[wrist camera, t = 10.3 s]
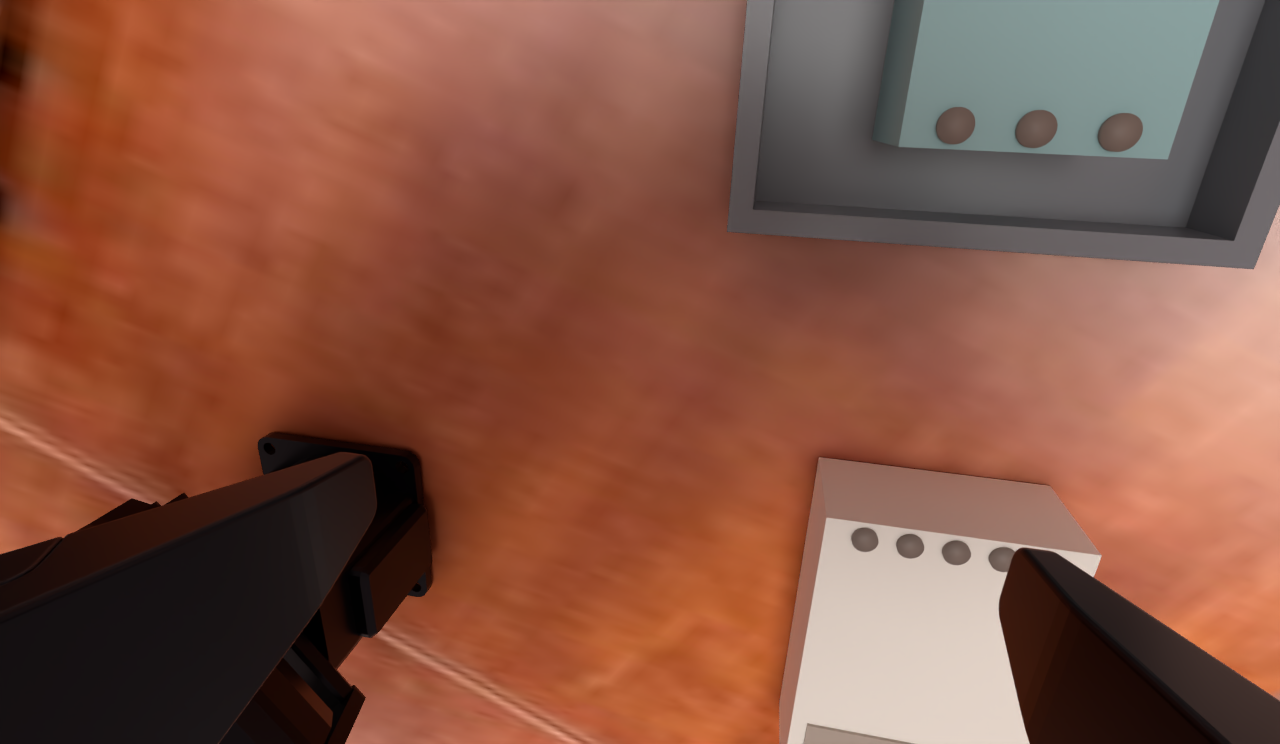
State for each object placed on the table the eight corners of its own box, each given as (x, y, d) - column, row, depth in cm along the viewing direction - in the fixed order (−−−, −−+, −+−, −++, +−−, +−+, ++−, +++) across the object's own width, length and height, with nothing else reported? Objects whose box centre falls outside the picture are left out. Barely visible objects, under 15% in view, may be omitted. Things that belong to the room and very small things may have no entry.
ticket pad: (779, 703, 25) (779, 791, 22) (818, 457, 21) (827, 520, 18) (969, 738, 24) (1000, 837, 21) (1050, 485, 20) (1104, 559, 17)
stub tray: (732, 217, 19) (727, 231, 17) (767, -161, 16) (765, -208, 13) (1189, 248, 17) (1253, 269, 15) (1341, -177, 14) (1454, -234, 11)
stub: (872, 139, 17) (899, 147, 13) (904, -62, 15) (946, -119, 12) (1079, 149, 16) (1172, 160, 12) (1137, -63, 15) (1264, -125, 11)
